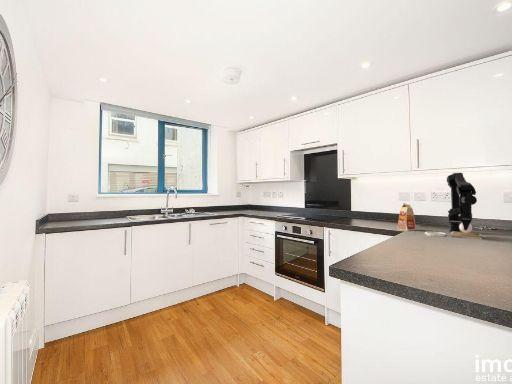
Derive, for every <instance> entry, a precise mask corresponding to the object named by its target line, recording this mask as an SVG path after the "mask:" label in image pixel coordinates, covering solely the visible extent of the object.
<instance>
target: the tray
mask: <svg viewBox="0 0 512 384" xmlns="http://www.w3.org/2000/svg"><path fill="white" fill-rule="evenodd" d="M450 237H451V238H462V239H474V240H482V233H480V232H469V233H463V232H454V231H452V232H450Z"/></svg>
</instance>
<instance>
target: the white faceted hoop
mask: <svg viewBox="0 0 512 384" xmlns="http://www.w3.org/2000/svg"><path fill="white" fill-rule="evenodd" d="M425 234H426V235H425ZM424 235H425V236H430V237H432V236H433V237H446V233H445V232H440V231H425V232H424Z"/></svg>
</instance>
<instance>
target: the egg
mask: <svg viewBox="0 0 512 384" xmlns="http://www.w3.org/2000/svg"><path fill="white" fill-rule="evenodd" d="M460 222H461V221H460ZM459 228H460V230H461V231H462V232H463V233H472V231H473V226H472V223H470V225H469V227H468V229H467V230H464V227H463V223H462V222H461V224H460V226H459Z"/></svg>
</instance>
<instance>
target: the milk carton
mask: <svg viewBox="0 0 512 384" xmlns="http://www.w3.org/2000/svg"><path fill="white" fill-rule="evenodd" d="M402 203H403V204H402V206H400V211H399V215H398V222H397V227H396V228H397V230H401V231H410V230H411V231H416V230H417V228H416V227H417V226H416V220H415V214H414V208H413V207H412V206H411V204H407V203H406V202H405V203H404V202H402Z"/></svg>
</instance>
